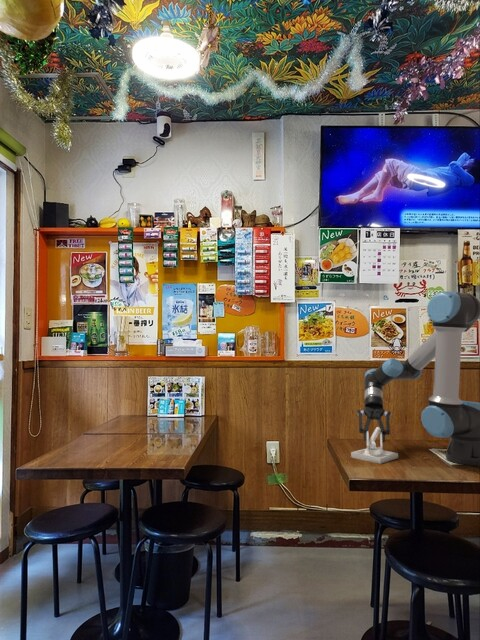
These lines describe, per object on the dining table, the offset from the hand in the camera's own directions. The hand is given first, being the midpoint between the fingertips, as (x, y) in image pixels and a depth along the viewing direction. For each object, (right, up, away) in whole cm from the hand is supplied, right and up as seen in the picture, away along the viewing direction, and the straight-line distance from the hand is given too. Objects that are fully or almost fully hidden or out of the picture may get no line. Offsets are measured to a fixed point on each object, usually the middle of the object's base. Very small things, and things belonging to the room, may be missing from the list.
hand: (374, 447), depth 171 cm
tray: (+1, -5, +3) cm, 6 cm away
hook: (+1, -3, +4) cm, 5 cm away
